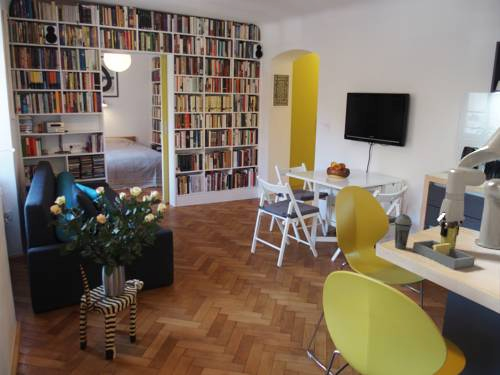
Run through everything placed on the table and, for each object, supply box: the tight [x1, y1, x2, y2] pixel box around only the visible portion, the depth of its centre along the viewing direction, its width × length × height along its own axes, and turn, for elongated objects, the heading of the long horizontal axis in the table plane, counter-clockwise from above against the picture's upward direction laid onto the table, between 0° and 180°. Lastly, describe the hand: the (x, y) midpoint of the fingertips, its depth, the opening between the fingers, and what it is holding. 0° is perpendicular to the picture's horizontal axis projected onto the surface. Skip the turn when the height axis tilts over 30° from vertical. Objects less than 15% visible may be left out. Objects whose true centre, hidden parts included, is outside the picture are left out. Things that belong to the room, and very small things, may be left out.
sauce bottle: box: [440, 220, 458, 249], centre depth 184 cm, size 6×6×20 cm
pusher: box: [432, 243, 451, 255], centre depth 176 cm, size 8×5×5 cm, turn 113°
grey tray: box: [412, 239, 476, 271], centre depth 174 cm, size 11×22×4 cm, turn 23°
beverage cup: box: [394, 204, 413, 250], centre depth 183 cm, size 7×7×20 cm
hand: (449, 235), depth 184 cm, fingers closed on sauce bottle, 6 cm apart
